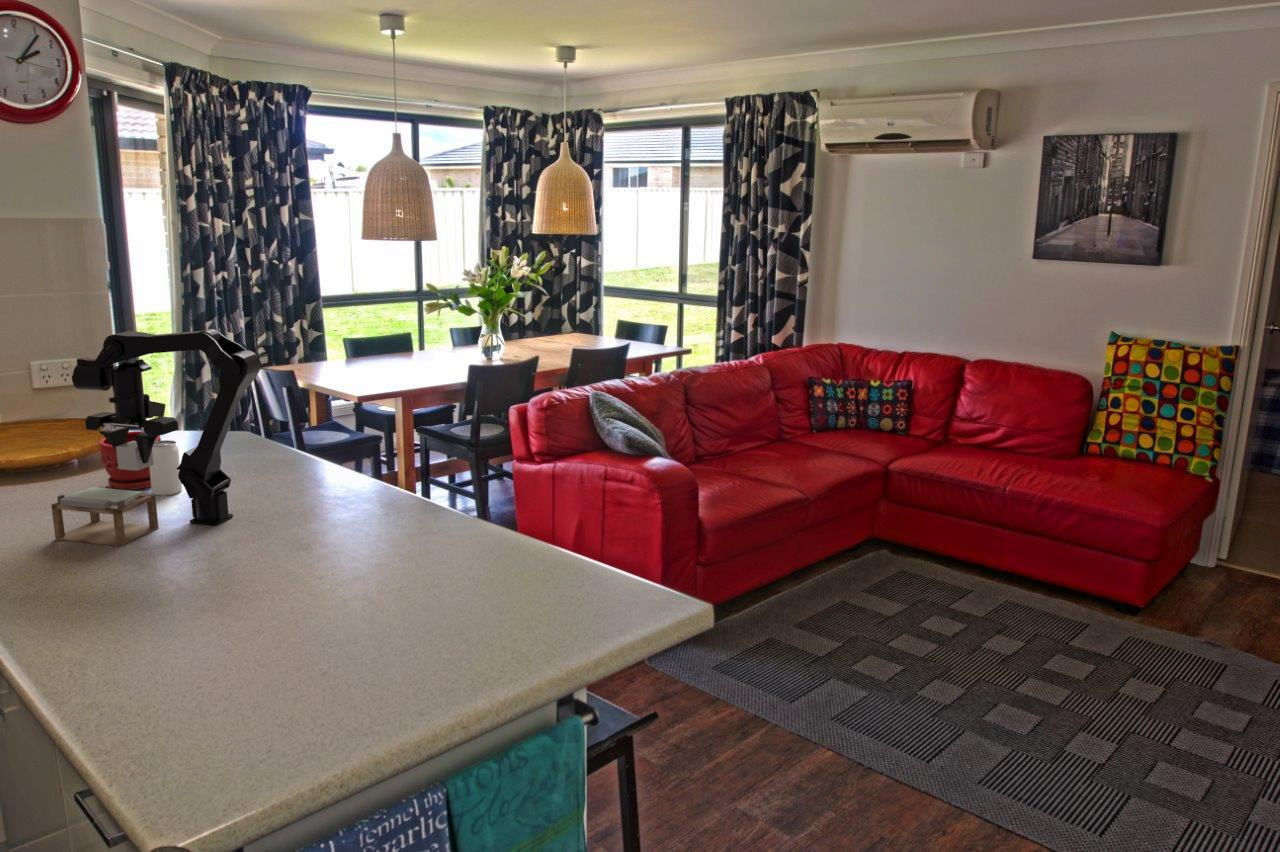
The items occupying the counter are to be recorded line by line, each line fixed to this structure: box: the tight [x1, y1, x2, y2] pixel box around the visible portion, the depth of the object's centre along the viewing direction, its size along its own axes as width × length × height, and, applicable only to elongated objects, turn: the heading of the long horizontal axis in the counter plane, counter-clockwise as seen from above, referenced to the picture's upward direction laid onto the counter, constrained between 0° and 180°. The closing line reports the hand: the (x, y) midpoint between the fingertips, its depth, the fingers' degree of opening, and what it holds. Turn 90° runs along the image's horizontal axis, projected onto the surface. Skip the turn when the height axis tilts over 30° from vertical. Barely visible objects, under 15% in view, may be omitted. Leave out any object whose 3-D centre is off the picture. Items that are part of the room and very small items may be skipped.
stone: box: [116, 441, 154, 471], centre depth 203 cm, size 5×5×5 cm
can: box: [149, 440, 183, 497], centre depth 222 cm, size 6×6×12 cm
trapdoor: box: [60, 486, 144, 509], centre depth 193 cm, size 12×10×1 cm
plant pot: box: [98, 430, 162, 491], centre depth 227 cm, size 13×13×12 cm
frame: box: [51, 493, 159, 547], centre depth 195 cm, size 15×11×9 cm
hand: (135, 462), depth 204 cm, fingers closed on stone, 5 cm apart
